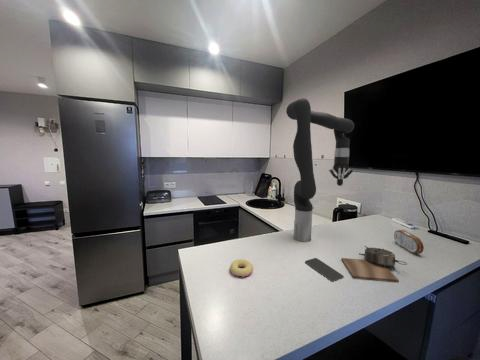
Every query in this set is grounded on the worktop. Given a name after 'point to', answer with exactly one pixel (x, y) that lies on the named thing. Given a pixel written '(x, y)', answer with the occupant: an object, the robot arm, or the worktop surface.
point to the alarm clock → (380, 256)
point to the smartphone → (324, 269)
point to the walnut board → (368, 270)
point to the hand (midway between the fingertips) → (339, 185)
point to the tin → (408, 241)
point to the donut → (241, 271)
